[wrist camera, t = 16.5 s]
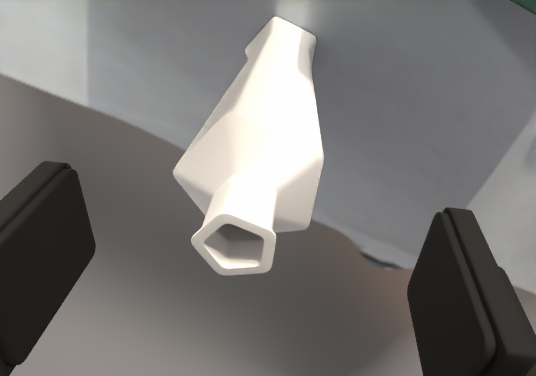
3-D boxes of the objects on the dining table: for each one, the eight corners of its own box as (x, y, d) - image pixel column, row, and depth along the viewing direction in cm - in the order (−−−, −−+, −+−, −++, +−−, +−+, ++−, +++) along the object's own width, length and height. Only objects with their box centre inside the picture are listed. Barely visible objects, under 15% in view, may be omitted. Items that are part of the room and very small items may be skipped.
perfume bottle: (317, 0, 20) (313, 154, 8) (328, 83, 23) (337, 296, 11) (230, 17, 21) (112, 179, 9) (249, 96, 24) (175, 305, 12)
